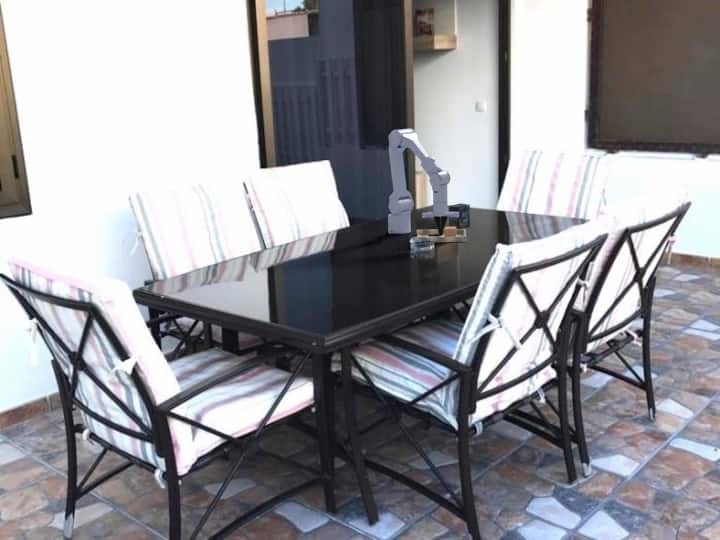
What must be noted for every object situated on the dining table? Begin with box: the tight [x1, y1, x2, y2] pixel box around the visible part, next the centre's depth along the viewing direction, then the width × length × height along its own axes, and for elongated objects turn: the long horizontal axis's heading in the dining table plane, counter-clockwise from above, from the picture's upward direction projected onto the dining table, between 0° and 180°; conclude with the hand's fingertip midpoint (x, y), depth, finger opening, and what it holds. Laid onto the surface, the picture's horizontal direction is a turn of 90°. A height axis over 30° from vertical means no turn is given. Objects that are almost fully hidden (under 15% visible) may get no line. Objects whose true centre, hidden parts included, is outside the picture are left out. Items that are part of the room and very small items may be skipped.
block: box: [444, 226, 457, 237], centre depth 294 cm, size 4×4×4 cm
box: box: [448, 203, 471, 229], centre depth 315 cm, size 8×6×11 cm
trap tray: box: [413, 228, 467, 243], centre depth 295 cm, size 20×16×3 cm
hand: (441, 235), depth 295 cm, fingers closed
